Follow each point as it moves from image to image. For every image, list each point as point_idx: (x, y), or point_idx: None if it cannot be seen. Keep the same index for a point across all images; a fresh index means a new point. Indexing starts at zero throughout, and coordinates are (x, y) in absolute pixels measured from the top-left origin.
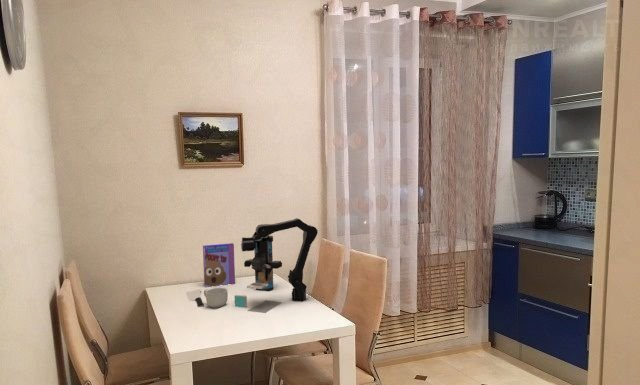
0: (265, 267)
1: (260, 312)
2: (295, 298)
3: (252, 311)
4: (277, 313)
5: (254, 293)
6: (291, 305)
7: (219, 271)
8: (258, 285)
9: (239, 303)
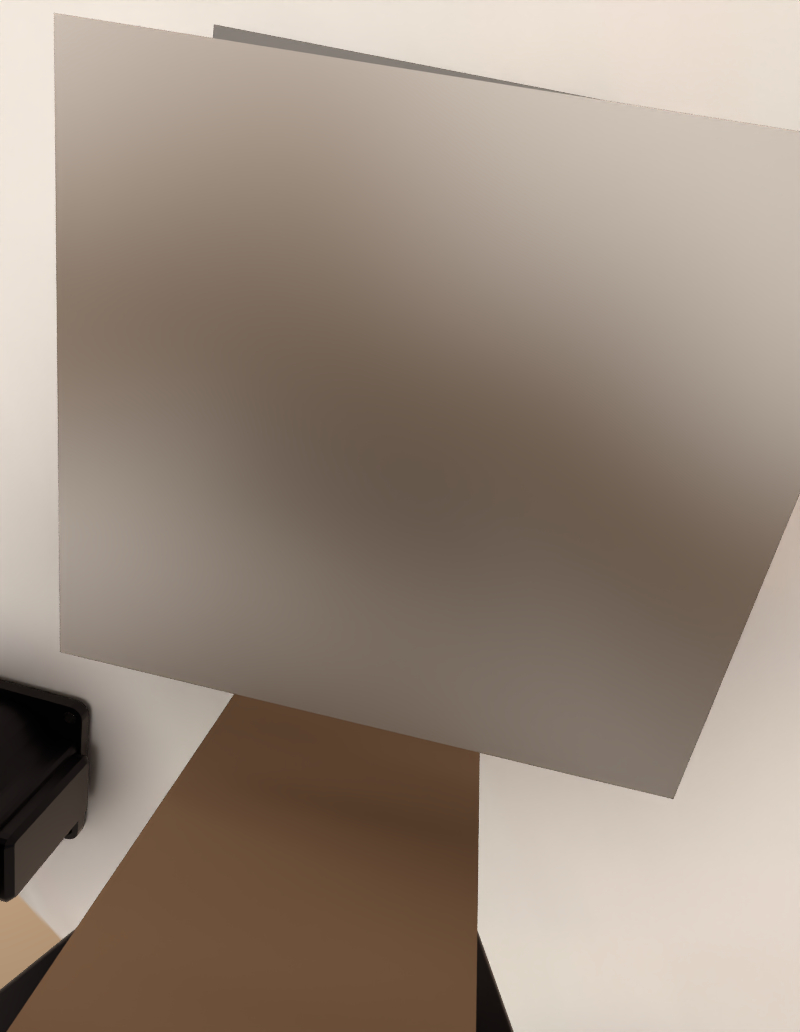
0: None
1: (310, 43)
2: (1, 725)
3: (482, 77)
4: (46, 129)
5: (706, 1023)
6: (19, 549)
7: None
8: (331, 358)
9: None
